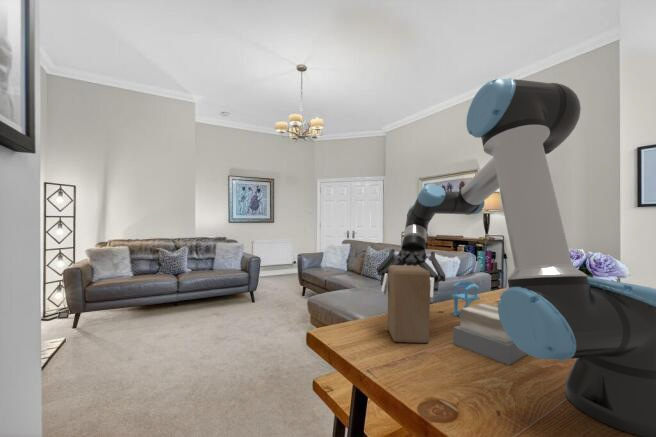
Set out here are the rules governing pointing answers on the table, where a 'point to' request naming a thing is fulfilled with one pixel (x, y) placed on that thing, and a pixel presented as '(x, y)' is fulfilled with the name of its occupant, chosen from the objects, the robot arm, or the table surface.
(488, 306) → the tower top
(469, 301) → the chair
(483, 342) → the tower base
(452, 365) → the table surface
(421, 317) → the block
